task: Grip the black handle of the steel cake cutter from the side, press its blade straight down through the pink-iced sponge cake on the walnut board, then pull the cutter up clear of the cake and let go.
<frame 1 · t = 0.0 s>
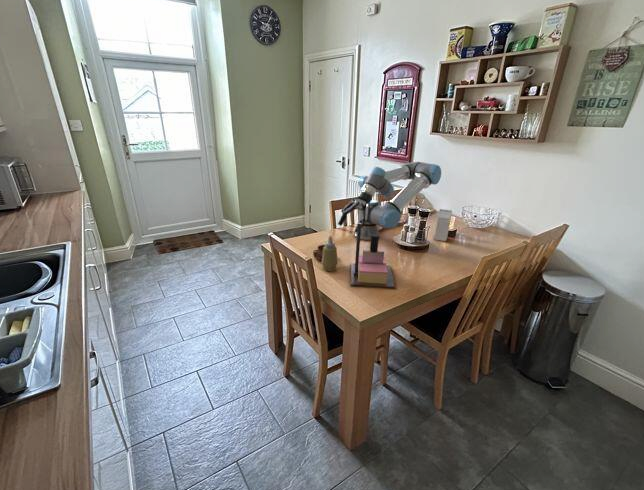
hand: (347, 228, 177), 15 cm above the table, tool tilted 35°, fingers open, 13 cm apart
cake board: (371, 276, 160), on the table
cup and saucer: (324, 258, 179), on the table
cake: (372, 268, 159), point 4 cm above the table
milk carton: (440, 239, 207), on the table
cutter: (373, 250, 154), point 14 cm above the table, slide at 0.0 cm
squeeze bottle: (329, 269, 167), on the table
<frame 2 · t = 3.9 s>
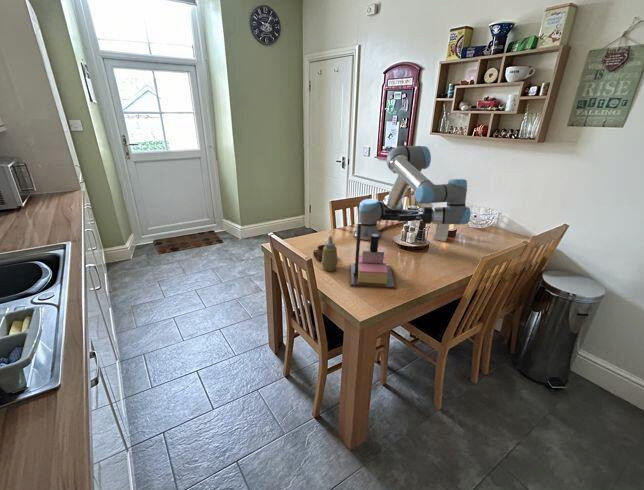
hand: (383, 214, 151), 30 cm above the table, tool horizontal, fingers open, 13 cm apart
nothing on the table moved.
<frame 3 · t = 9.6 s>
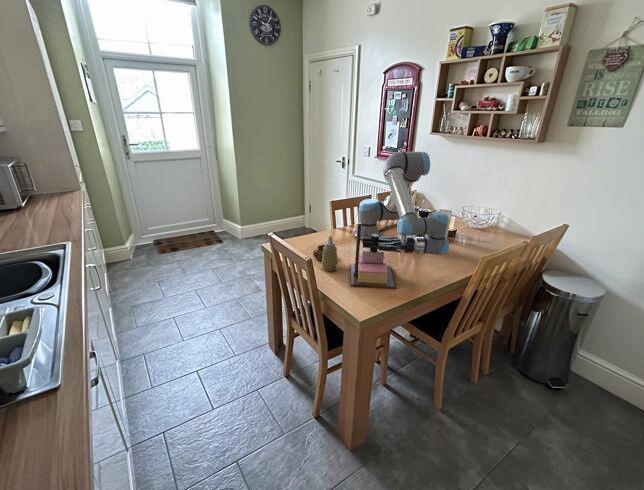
hand: (362, 242, 153), 17 cm above the table, tool horizontal, fingers closed on cutter, 4 cm apart
cutter: (373, 250, 154), point 14 cm above the table, slide at 0.0 cm, touching gripper
everything else where it was.
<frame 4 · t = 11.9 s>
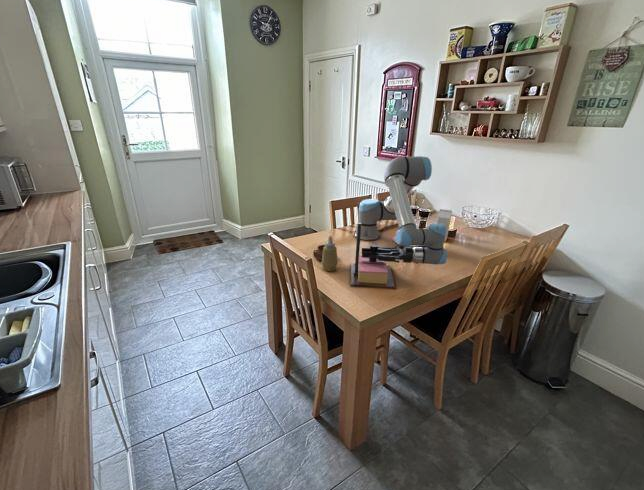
hand: (362, 252, 155), 12 cm above the table, tool horizontal, fingers closed on cutter, 4 cm apart
cutter: (372, 259, 157), point 9 cm above the table, slide at -5.1 cm, touching gripper
everything else where it was.
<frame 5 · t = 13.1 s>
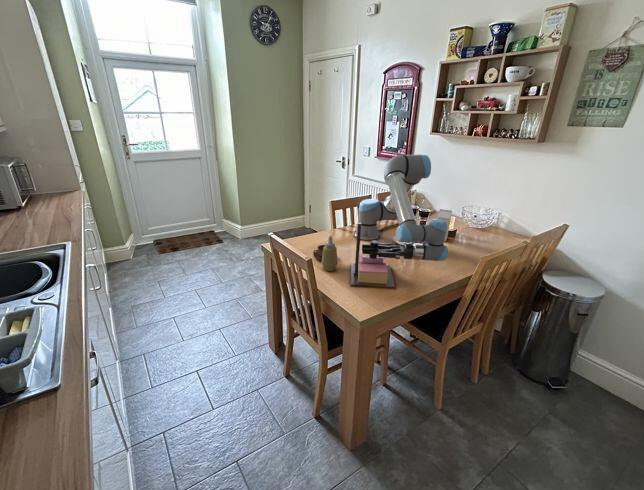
hand: (362, 249, 155), 14 cm above the table, tool horizontal, fingers closed on cutter, 4 cm apart
cutter: (373, 256, 156), point 11 cm above the table, slide at -3.3 cm, touching gripper
everything else where it was.
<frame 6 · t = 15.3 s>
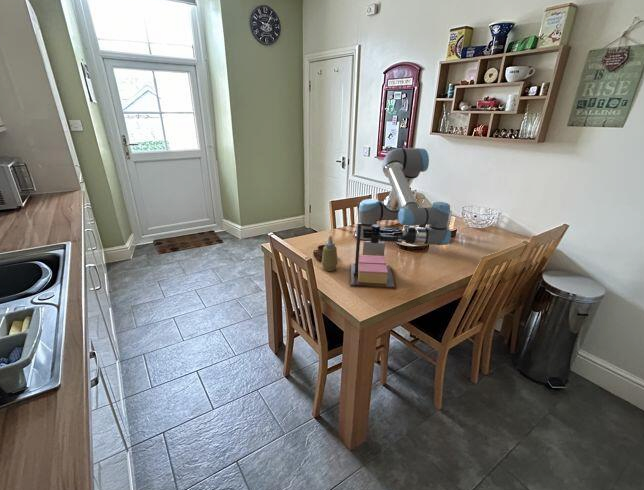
hand: (363, 233, 151), 22 cm above the table, tool horizontal, fingers closed on cutter, 4 cm apart
cutter: (374, 240, 152), point 19 cm above the table, slide at 4.7 cm, touching gripper
everything else where it was.
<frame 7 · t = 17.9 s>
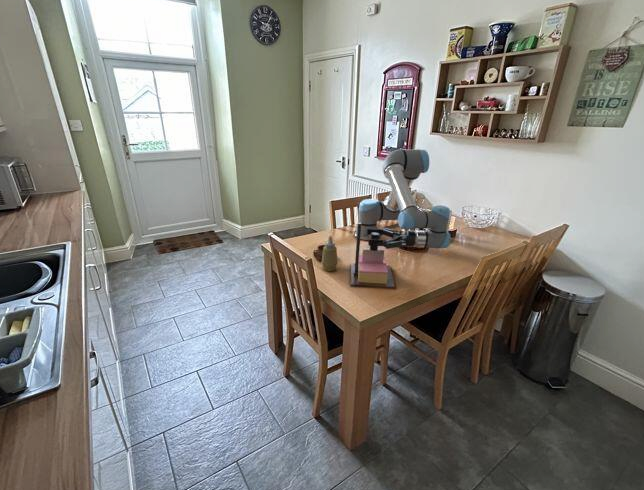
hand: (367, 236, 152), 21 cm above the table, tool horizontal, fingers open, 13 cm apart
cutter: (373, 248, 154), point 15 cm above the table, slide at 0.8 cm
everything else where it was.
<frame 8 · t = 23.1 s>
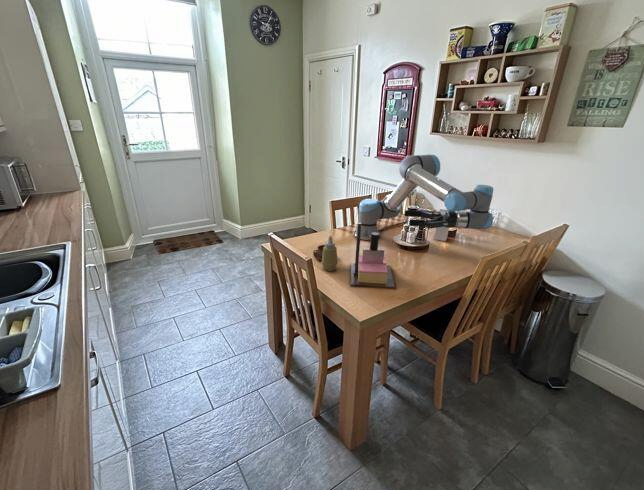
hand: (406, 217, 149), 30 cm above the table, tool horizontal, fingers open, 13 cm apart
nothing on the table moved.
at the end: cutter pushed in 5.2 cm at the most during the clip, back to 0.8 cm at the end; cutter slide at 0.8 cm; the gripper is holding nothing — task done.
